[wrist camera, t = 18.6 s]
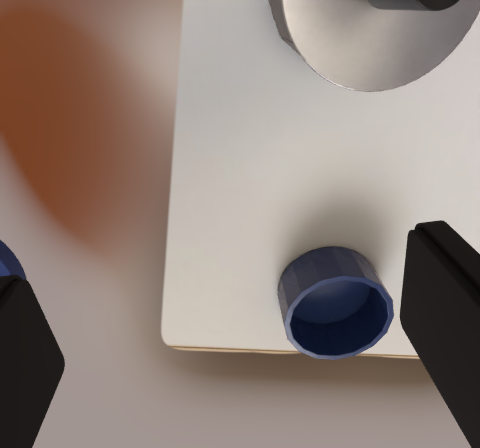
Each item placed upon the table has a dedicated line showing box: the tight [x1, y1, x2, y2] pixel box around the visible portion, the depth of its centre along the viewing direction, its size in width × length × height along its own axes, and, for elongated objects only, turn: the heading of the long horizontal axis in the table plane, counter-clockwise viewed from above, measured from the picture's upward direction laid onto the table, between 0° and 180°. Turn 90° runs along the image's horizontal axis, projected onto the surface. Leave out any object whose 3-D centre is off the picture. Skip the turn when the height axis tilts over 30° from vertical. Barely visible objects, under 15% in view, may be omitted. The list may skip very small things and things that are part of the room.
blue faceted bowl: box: [278, 247, 394, 360], centre depth 44 cm, size 11×11×5 cm
